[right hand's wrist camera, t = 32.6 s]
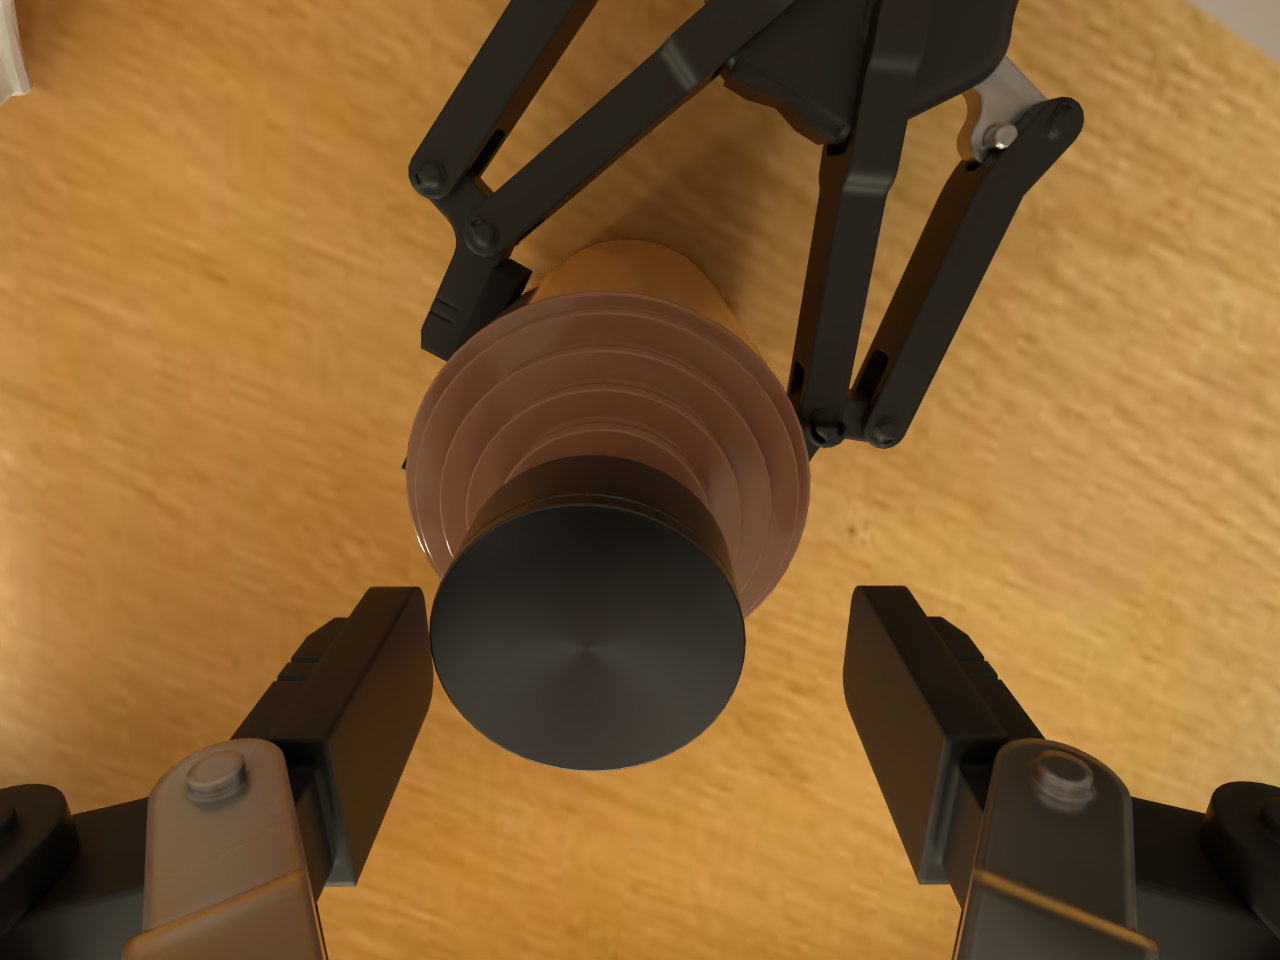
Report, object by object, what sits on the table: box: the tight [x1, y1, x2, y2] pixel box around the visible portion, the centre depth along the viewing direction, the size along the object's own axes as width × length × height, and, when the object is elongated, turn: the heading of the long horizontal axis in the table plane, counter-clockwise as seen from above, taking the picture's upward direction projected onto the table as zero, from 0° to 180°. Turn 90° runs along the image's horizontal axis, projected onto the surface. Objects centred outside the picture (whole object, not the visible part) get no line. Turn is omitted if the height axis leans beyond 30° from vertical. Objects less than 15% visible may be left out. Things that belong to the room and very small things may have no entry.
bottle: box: [406, 239, 810, 619], centre depth 19 cm, size 8×8×19 cm
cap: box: [429, 455, 746, 771], centre depth 11 cm, size 4×4×2 cm
